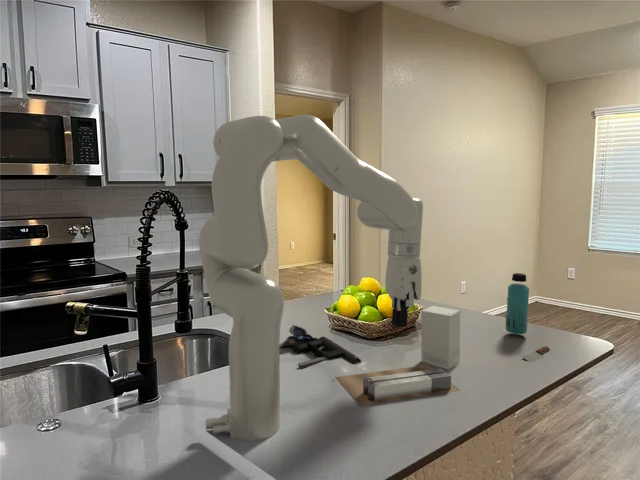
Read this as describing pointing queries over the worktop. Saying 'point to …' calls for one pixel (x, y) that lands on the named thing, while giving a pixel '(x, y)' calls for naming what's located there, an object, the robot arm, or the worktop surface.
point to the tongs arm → (398, 377)
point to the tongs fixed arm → (409, 386)
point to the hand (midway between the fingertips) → (399, 325)
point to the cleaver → (536, 354)
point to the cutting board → (355, 382)
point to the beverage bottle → (517, 305)
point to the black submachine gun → (318, 345)
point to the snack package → (297, 337)
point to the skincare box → (440, 337)
